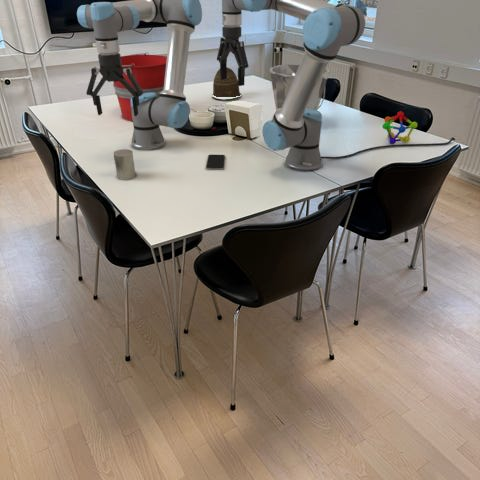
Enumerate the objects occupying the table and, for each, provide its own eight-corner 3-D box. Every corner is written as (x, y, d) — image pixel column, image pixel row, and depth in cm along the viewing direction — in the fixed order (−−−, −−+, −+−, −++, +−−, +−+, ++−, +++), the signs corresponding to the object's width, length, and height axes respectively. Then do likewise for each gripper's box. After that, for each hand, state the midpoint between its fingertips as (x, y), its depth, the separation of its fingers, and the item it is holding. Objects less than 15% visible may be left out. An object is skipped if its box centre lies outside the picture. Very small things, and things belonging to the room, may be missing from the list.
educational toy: (377, 146, 209) (379, 114, 202) (384, 138, 219) (386, 107, 211) (411, 149, 202) (415, 116, 195) (417, 141, 212) (420, 109, 204)
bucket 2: (296, 138, 215) (301, 78, 201) (255, 124, 234) (256, 68, 219) (335, 125, 232) (342, 70, 217) (294, 113, 251) (297, 61, 236)
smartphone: (205, 167, 182) (208, 154, 195) (205, 169, 182) (208, 155, 195) (223, 168, 182) (225, 154, 194) (223, 169, 182) (225, 156, 195)
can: (115, 180, 173) (111, 156, 168) (118, 172, 179) (115, 149, 174) (134, 179, 173) (131, 155, 168) (136, 172, 180) (133, 149, 174)
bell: (227, 105, 294) (202, 96, 282) (238, 66, 289) (213, 55, 277) (243, 108, 280) (217, 98, 268) (255, 66, 275) (229, 55, 263)
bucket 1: (121, 106, 263) (114, 51, 247) (180, 106, 262) (176, 52, 246) (104, 123, 233) (95, 63, 217) (170, 124, 232) (166, 64, 216)
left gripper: (69, 54, 150) (81, 117, 161) (141, 55, 148) (149, 118, 160) (77, 50, 156) (88, 110, 167) (147, 51, 155) (153, 112, 166)
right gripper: (207, 23, 180) (209, 77, 191) (241, 30, 162) (241, 89, 174) (223, 22, 184) (224, 75, 195) (258, 28, 166) (256, 87, 177)
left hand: (118, 114), depth 164 cm, fingers open, 13 cm apart
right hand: (232, 82), depth 184 cm, fingers open, 13 cm apart
